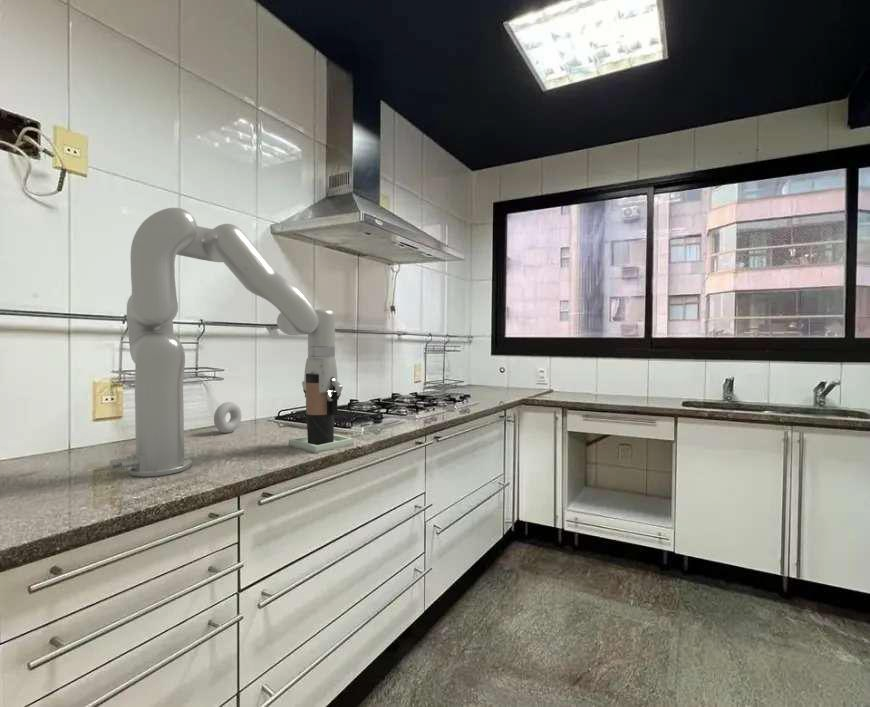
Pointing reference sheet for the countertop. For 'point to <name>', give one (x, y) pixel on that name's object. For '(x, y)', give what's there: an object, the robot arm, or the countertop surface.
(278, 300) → the robot arm
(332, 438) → the travel mug
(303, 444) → the tray
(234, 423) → the donut
